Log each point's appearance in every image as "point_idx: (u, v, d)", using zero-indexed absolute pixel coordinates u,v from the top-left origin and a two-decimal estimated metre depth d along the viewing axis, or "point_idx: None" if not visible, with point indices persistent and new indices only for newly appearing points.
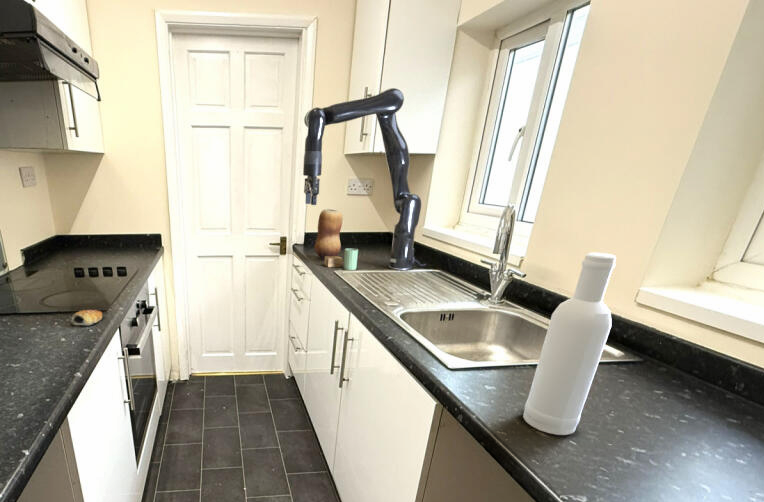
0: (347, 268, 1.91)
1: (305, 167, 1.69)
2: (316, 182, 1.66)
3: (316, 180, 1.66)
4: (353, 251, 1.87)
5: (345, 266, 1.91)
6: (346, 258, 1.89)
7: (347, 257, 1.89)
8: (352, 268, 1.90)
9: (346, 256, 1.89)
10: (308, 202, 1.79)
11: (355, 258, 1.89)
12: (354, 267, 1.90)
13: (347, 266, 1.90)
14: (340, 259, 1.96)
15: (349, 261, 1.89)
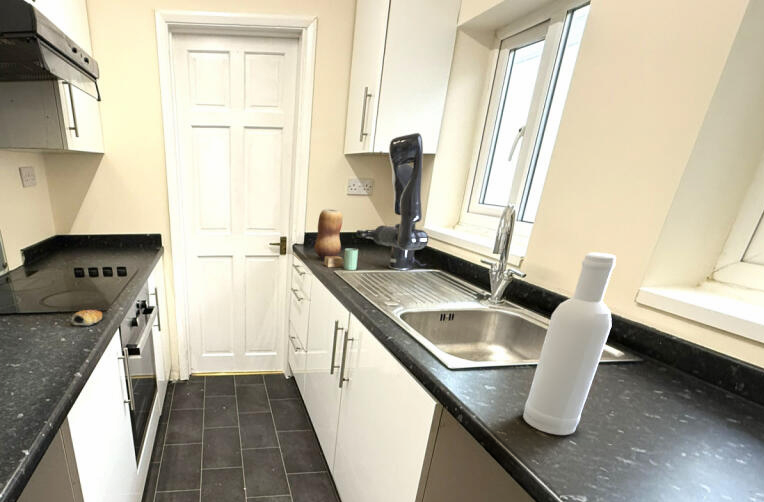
0: (347, 268, 1.91)
1: None
2: None
3: None
4: (353, 251, 1.87)
5: (345, 266, 1.91)
6: (346, 258, 1.89)
7: (347, 257, 1.89)
8: (352, 268, 1.90)
9: (346, 256, 1.89)
10: None
11: (355, 258, 1.89)
12: (354, 267, 1.90)
13: (347, 266, 1.90)
14: (340, 259, 1.96)
15: (349, 261, 1.89)
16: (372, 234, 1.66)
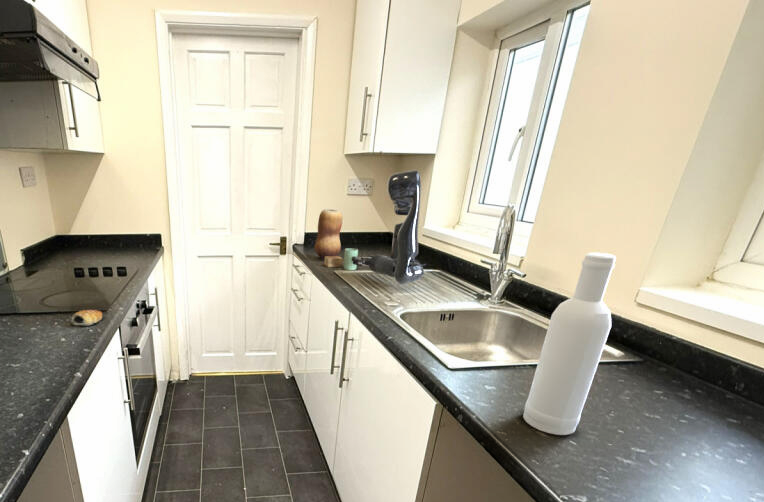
0: (347, 268, 1.91)
1: None
2: None
3: None
4: (353, 251, 1.87)
5: (345, 266, 1.91)
6: (346, 258, 1.89)
7: (347, 257, 1.89)
8: (352, 268, 1.90)
9: (346, 256, 1.89)
10: None
11: None
12: (354, 267, 1.90)
13: (347, 266, 1.90)
14: (340, 259, 1.96)
15: (349, 261, 1.89)
16: (368, 262, 1.72)
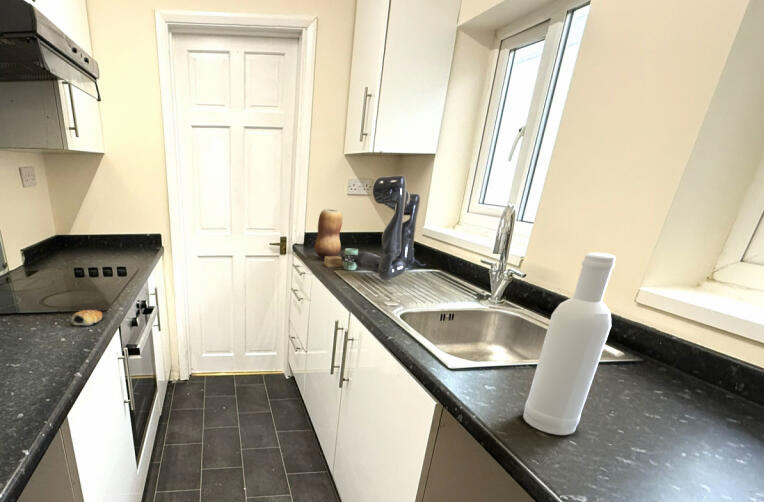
0: (347, 268, 1.91)
1: None
2: None
3: None
4: (353, 251, 1.87)
5: (345, 266, 1.91)
6: None
7: None
8: (352, 268, 1.90)
9: None
10: None
11: None
12: (354, 267, 1.90)
13: (347, 266, 1.90)
14: (340, 259, 1.96)
15: None
16: (354, 259, 1.81)
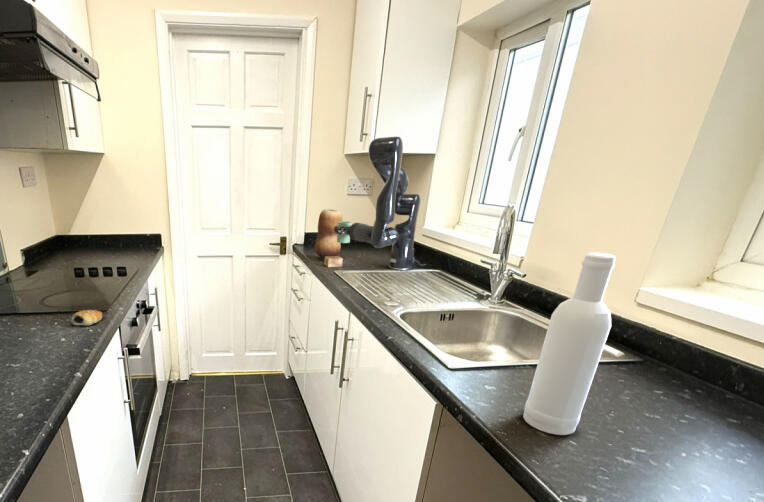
0: (340, 241, 1.89)
1: None
2: None
3: None
4: (346, 223, 1.86)
5: (338, 239, 1.90)
6: None
7: None
8: (345, 241, 1.89)
9: None
10: None
11: None
12: (347, 240, 1.89)
13: (340, 239, 1.89)
14: (340, 259, 1.96)
15: (342, 234, 1.88)
16: (347, 231, 1.80)
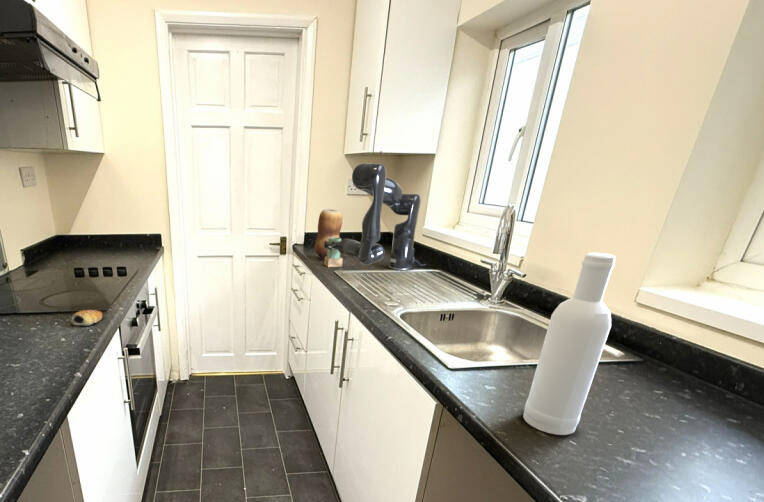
0: (331, 257, 1.96)
1: None
2: None
3: None
4: (336, 240, 1.92)
5: (329, 255, 1.96)
6: None
7: None
8: (335, 257, 1.95)
9: None
10: None
11: None
12: (337, 256, 1.95)
13: (331, 255, 1.95)
14: (340, 259, 1.96)
15: (332, 250, 1.94)
16: (337, 246, 1.86)
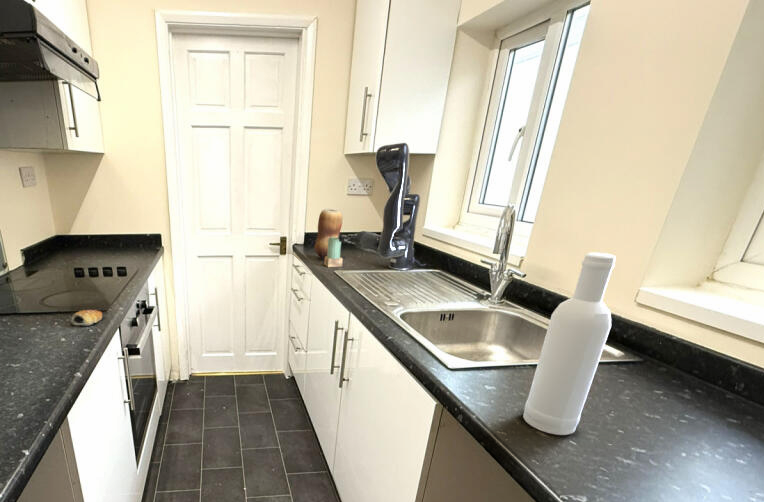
0: (331, 257, 1.96)
1: None
2: None
3: None
4: (336, 240, 1.92)
5: (329, 255, 1.96)
6: (329, 247, 1.94)
7: (330, 246, 1.94)
8: (335, 257, 1.95)
9: (329, 245, 1.94)
10: None
11: (338, 247, 1.94)
12: (337, 256, 1.95)
13: (331, 255, 1.95)
14: (340, 259, 1.96)
15: (332, 250, 1.94)
16: (353, 239, 1.73)
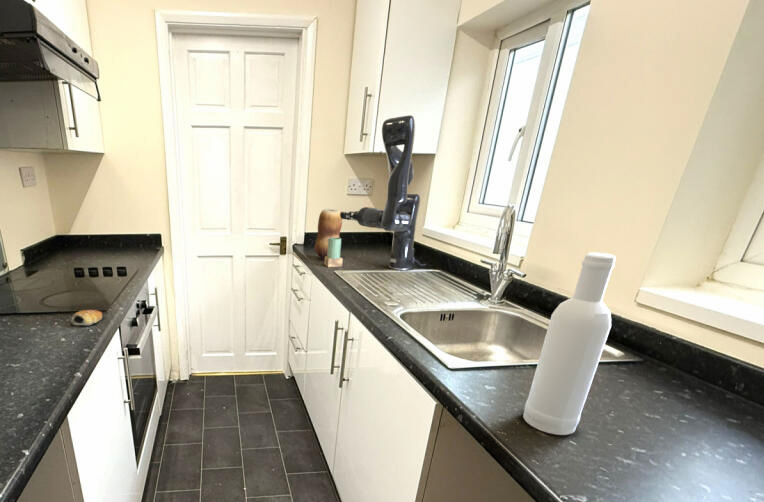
0: (331, 257, 1.96)
1: None
2: None
3: None
4: (336, 240, 1.92)
5: (329, 255, 1.96)
6: (329, 247, 1.94)
7: (330, 246, 1.94)
8: (335, 257, 1.95)
9: (329, 245, 1.94)
10: None
11: (338, 247, 1.94)
12: (337, 256, 1.95)
13: (331, 255, 1.95)
14: (340, 259, 1.96)
15: (332, 250, 1.94)
16: (356, 216, 1.69)
